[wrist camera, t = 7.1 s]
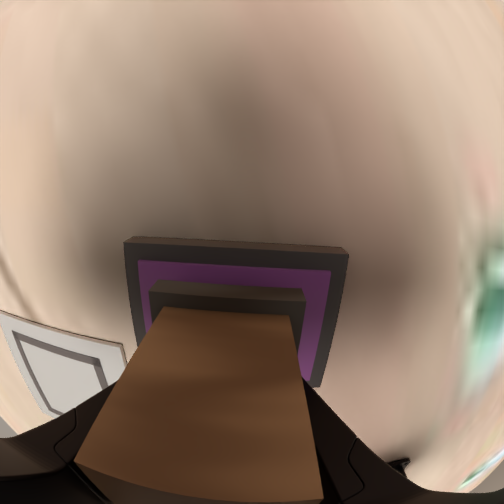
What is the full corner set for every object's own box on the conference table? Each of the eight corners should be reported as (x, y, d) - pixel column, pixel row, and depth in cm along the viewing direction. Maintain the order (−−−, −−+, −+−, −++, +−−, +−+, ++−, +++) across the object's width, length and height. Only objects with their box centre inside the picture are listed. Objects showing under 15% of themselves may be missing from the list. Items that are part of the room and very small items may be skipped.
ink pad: (341, 247, 11) (350, 255, 10) (316, 374, 13) (320, 389, 12) (133, 236, 11) (121, 243, 10) (149, 363, 13) (142, 377, 12)
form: (122, 344, 13) (119, 348, 12) (155, 449, 16) (154, 453, 16) (-2, 309, 13) (-5, 312, 12) (43, 410, 16) (41, 412, 16)
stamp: (301, 288, 9) (365, 481, 2) (284, 391, 11) (299, 540, 4) (158, 279, 9) (40, 434, 2) (170, 382, 11) (124, 520, 4)
